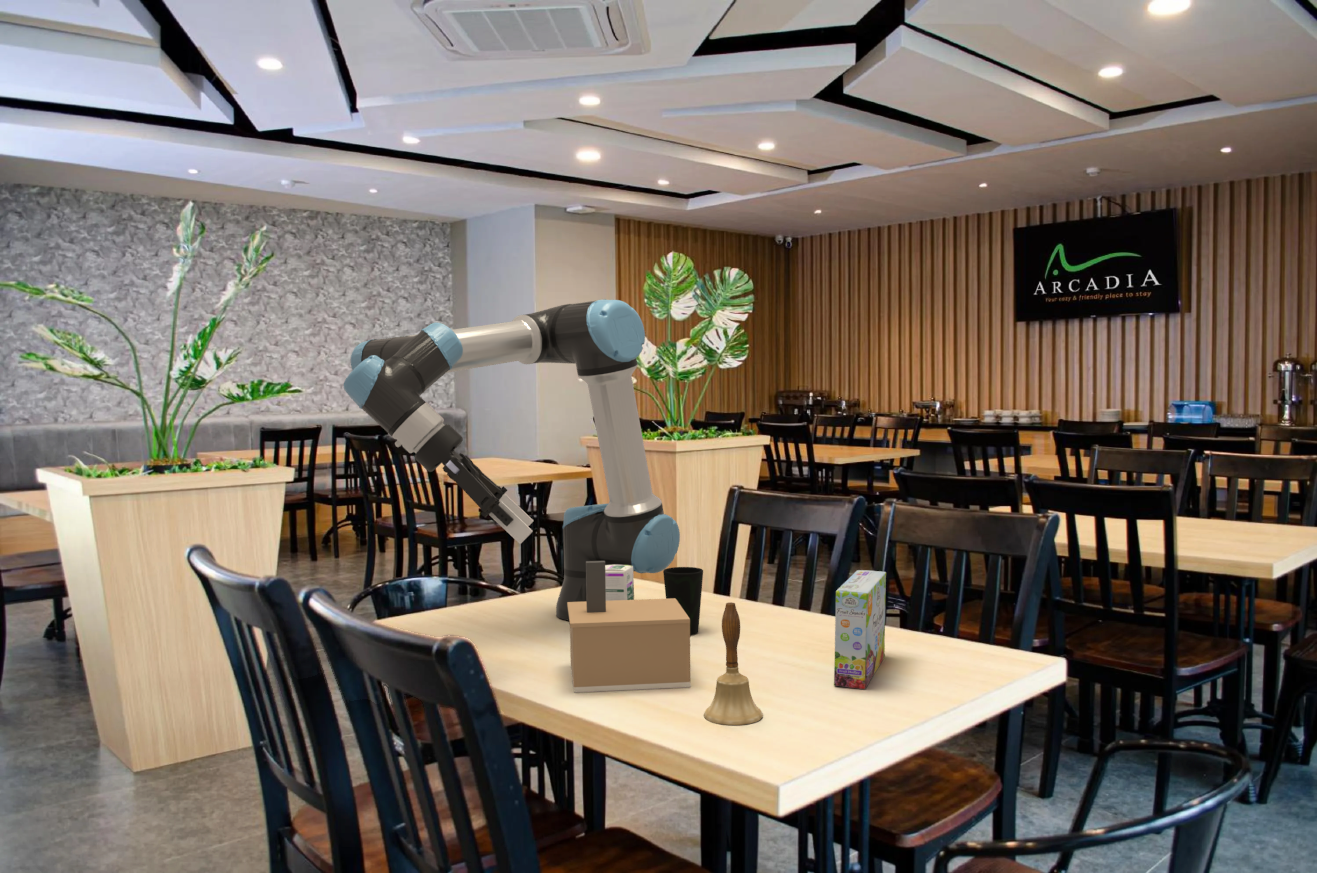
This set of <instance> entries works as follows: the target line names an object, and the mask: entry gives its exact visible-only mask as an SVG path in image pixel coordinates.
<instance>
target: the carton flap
mask: <svg viewBox="0 0 1317 873" xmlns="http://www.w3.org/2000/svg"><path fill="white" fill-rule="evenodd" d="M567 607H568V614H569V620H568V621H569V629H570V628H571V627H597V626H623V625H649V624H675V623H690V618H689V617H688V615H687V614H686V613H685V611H684V610H683V608H682V607H681V605H680V604H679V603H678V601H677V600H676V598H670V599H666V598H652V599H651V598H650V599H645V598H644V599H634V600H614V601H606V585H605V561H586V601H585V602H567Z"/></svg>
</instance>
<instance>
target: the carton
mask: <svg viewBox="0 0 1317 873" xmlns="http://www.w3.org/2000/svg"><path fill="white" fill-rule="evenodd" d="M569 639H570V640H569V642H570V643H569V646H570V650H569V651H570V670H571V679H572V685H573V687H572V688H573V693H588V692H589V693H591V692H593V693H595V692H612V691H614V692H615V691H617V692H618V691H636V690H637V691H638V690H654V689H656V690H657V689H658V690H659V689H660V690H661V689H676V688H677V689H678V688H682V689H683V688H691V686H692V684H691V635H690V623H675V624H649V625H623V626H597V627H571V628H570V627H569Z"/></svg>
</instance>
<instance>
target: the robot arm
mask: <svg viewBox="0 0 1317 873" xmlns="http://www.w3.org/2000/svg"><path fill="white" fill-rule="evenodd" d="M645 333H646V332H645V327H644V324H643V320H642V319H641V317H640V315H639V313H638V312H637V311H636V310H635V308H633V307H632V306H630V305H629V303H627V302H626V301H622V300H619V299H606V298H604V299H597V300H590V301H584V302H577V303H576V302H575V303H567V304H561V305H557V306H554V307H550V308H548V309H547V308H546V309H544V310H540V311H539V310H538V311H536V312H531V313H527V314H520V315H517V316H515V317H514V318H513V319H512V321H507V322H501V323H492V324H484V325H477V326H469V327H468V326H467V327H464V328H462V327H460V328H454V329H453V328H450V327H449V326H447V325H446V324H443V323H441V322H433V323H431V324H429V325H428V326H426V327H424V328H422V329H421V330H420V331H419V332H418V333H417V334H411V335H404V336H396V337H395V336H393V337H389V338H388V337H387V338H381V339H380V338H379V339H377V338H376V339H375V338H373V339H368V340H365V341H362V342H361V343H359V344H358V345H356V346H355V347H354V349H353V350H352V352H351V355H350V366H351V367H350V368H351V372H350V373H349V374H348V375H347V377H346V378H345V380H344V383H343V390H344V391H345V393H346V394H347V395H348V396H349V398H350V399H351V400H352V401H353V402H354V403H355V404H356V405H357V406H358V407H359V409H360V410H363V411H364V412H365V414H367V415H368V416H369V417H370V418H371V419H373V421H374V422H376V423H377V424H378V425H379V426H380V428H382V429H384V431H385V432H386V433H388V435H389V436H391V437H392V438H393V439H394V440H395V442H394V445H395V447H397V448H399V447H402V448H403V449H404V450H405V451H406V452H408V453H409V454H412V453H415V455H414V459H415V460H416V462H418V464H420V465H421V466H422V467H423V469H425V470H426V471H427V472H429V473H432V472H433V471H435V470H436V469H437V468H438V467H439V466H440V465H441V464H442V465H443V467H442V470H443V472H444V473H446V475H447V476H448V478H450V480H452V481H454V482H455V484H456V485H457V486H459V488H461V489H462V490H463V492H464V493H466V495H467V496H468V497H469V498H470V499H471V500H472V501H473V502H474V503H475V504H476V506H478V507H479V509H480V510H481V512H480V514H481V516H482V517H484V518H487V517H488V516H490V517H491V519H493V520H494V521H495V523H497V524H498V525H499V526H500V527H501V528H502V529H503V530H505V531H506V533H508V534H509V535H510V536H511V537H512V538H513V539H514V540H515V541H516V543H518V544H519V545H521V544H522V543H523V542H524V541H525V540H526V539H527V538H528V537H529V536H530V535H531V534H532V533H533V529H532V528H530V527H529V526H531V524H533V522H534V519H533V518H531V517H530V515H528V514H527V513H526V512H525V511H524V510H523V509H522V507H520V506H519V505H518V504H517V503H515V501H514V500H513V499H511V498H510V497H509V495H508V494H506V493H507V492H508V489H507V488H506V487H505V486H502V487H501V486H499V485H497V483H496V482H495V481H493V480H492V479H490V478H489V476H487V475H486V474H485V473H484V472H483V471H482V470H481V469H480V468H479V467H478V466H477V465H476V464H475V463H474V461H473V460H472V459H471V458H470V457H469V456H467V455H465V454H463V453H462V452H460V453H458V452H456V451H455V450H456V449H457V448H458V447H459V446H460V445H461V444H462V443H463V436H462V435H461V434H460V433H458V431H457V430H455V428H454V427H453V426H451V424H447V423H446V424H444V421H445V419H444V417H443V416H441V414H440V413H438V411H436V410H435V409H434V408H433V407H432V406H431V405H430V404H429V403H428V402H426V401H425V400H424V398H422V397H421V395H423V393H425V391H427V390H428V389H429V388H430V387H432V385H434V384H435V383H437V381H438V380H439V379H441V377H443V376H444V375H445V374H447V373H453V372H459V371H465V370H466V371H467V370H471V369H478V368H483V367H488V366H495V365H501V364H507V363H514V362H519V363H521V364H523V365H532V364H540V363H541V364H542V363H543V364H546V363H547V364H549V363H551V364H553V363H554V364H575V366H576V372H577V376H578V378H579V379H581V380H582V381H584V382H585V383H586V384H587V388H588V392H589V393H588V394H589V398H590V404H591V408H592V409H591V410H592V414H593V415H592V416H593V419H594V425H595V426H594V427H595V430H596V436H597V442H598V446H599V451H600V455H601V456H600V457H601V461H602V462H601V463H602V468H603V472H604V478H605V484H606V488H607V495H608V498H609V502H608V503H600V504H592V505H582V506H574V507H573V506H572V507H568V508H567V509H566V510H565V511H564V512H563V513H564V514H563V524H562V541H563V546H562V547H563V548H562V549H563V570H564V573H563V574H564V575H563V578H564V579H563V581H562V584H561V588H560V591H559V595H558V598H557V602H556V605H555V606H556V607H555V611H556V612H555V613H556V617H557V618H559V619H561V620H564V621H569V614H568V607H567V602H585V601H586V561H605V565H617V564H620V565H631V566H633V572H635V573H638V574H647V573H648V574H657V573H660V572H662V571H664V570H665V569H667V568H668V567H670V565H671V564H672V562H673V561H674V559H675V557H676V554H678V550H679V546H680V541H681V532H680V527H679V524H678V523H677V521H676V520H675V519H674V518H673V517H671V516H670V515H668V514H666V513H665V512H664V505H663V502H662V499H661V498H660V497H659V496H657V495H655V494H654V493H653V488H652V483H651V476H650V472H649V467H648V460H647V456H646V454H647V453H646V450H645V445H644V439H643V433H642V428H641V422H640V421H641V420H640V417H639V412H638V411H639V410H638V405H637V399H636V394H635V389H634V383H633V377H632V375H633V374H634V372H635V370H636V369H637V368H638V361H637V360H638V359H637V358H638V357H639V356H640V354H642V352H643V349H644V348H643V345H644V344H645V342H646V334H645Z"/></svg>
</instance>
